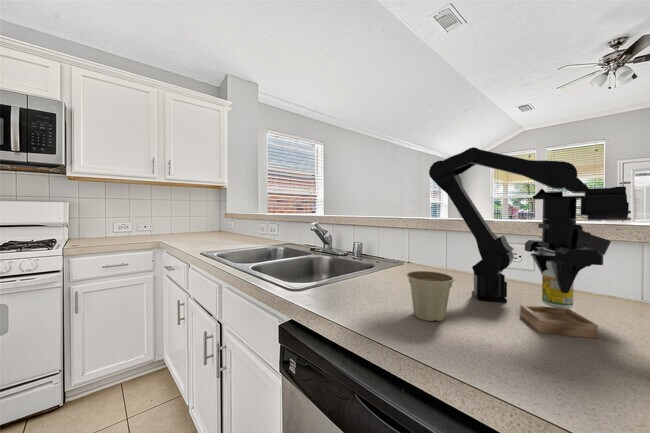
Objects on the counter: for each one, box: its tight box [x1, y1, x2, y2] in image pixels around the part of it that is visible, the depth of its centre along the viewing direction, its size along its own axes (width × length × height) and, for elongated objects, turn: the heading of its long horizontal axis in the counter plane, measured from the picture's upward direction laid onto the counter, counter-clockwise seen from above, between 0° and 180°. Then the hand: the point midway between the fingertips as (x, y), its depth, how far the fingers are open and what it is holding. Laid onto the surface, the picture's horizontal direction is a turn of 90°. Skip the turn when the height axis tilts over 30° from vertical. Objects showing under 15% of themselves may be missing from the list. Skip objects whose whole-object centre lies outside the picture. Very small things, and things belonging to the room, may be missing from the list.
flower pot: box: [406, 270, 456, 322], centre depth 58 cm, size 9×9×9 cm
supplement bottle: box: [541, 261, 575, 309], centre depth 62 cm, size 5×5×10 cm
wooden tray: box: [519, 304, 599, 339], centre depth 53 cm, size 9×9×2 cm
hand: (557, 289), depth 62 cm, fingers closed on supplement bottle, 5 cm apart
